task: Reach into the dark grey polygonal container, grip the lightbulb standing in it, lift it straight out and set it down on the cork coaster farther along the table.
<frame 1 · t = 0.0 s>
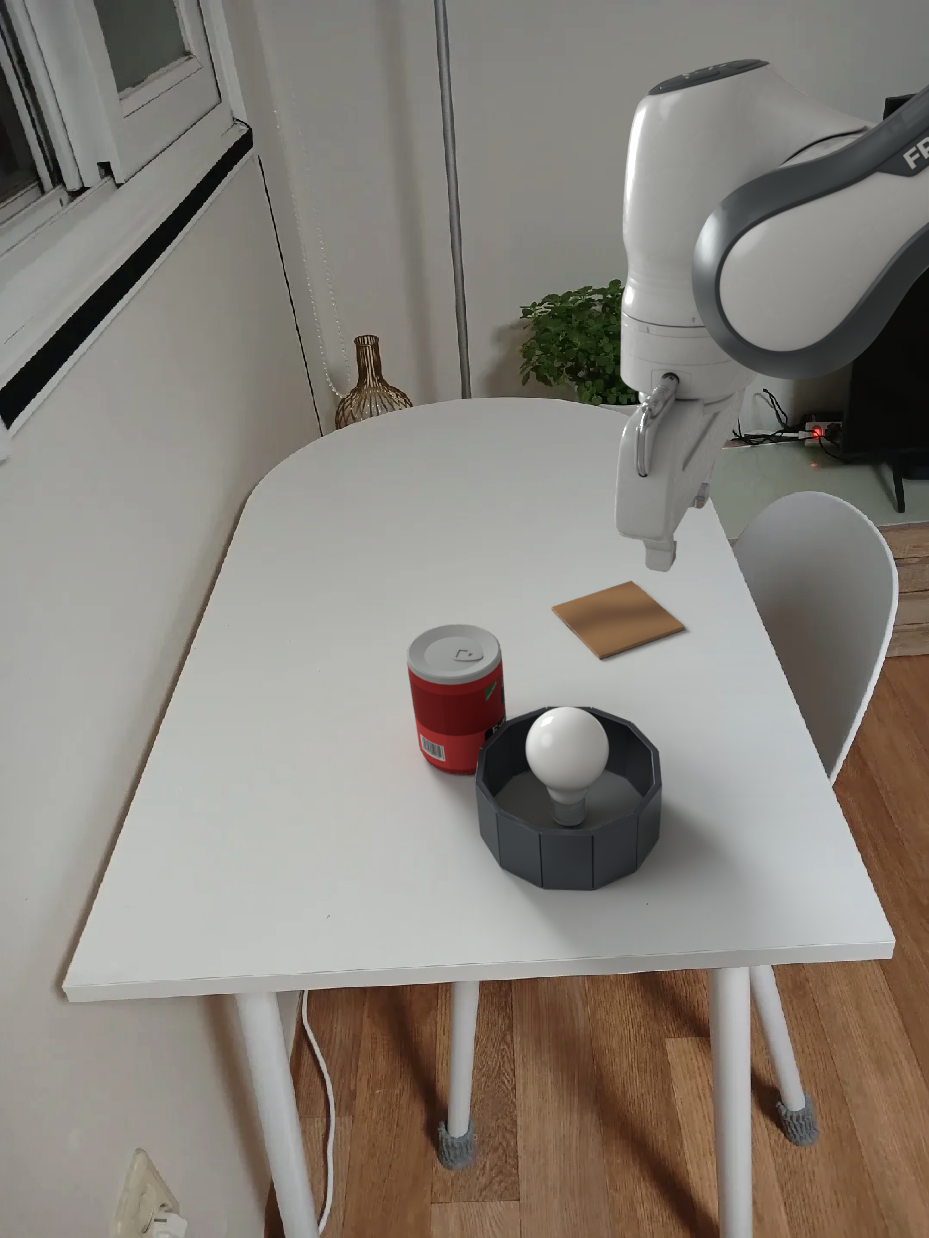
hand: (678, 533, 70), 22 cm above the table, tool pointing down, fingers open, 8 cm apart
lightbulb: (568, 820, 78), resting in dark grey polygonal container
canned food: (464, 748, 86), on the table
coaster: (616, 619, 100), on the table
dark grey polygonal container: (568, 819, 77), on the table
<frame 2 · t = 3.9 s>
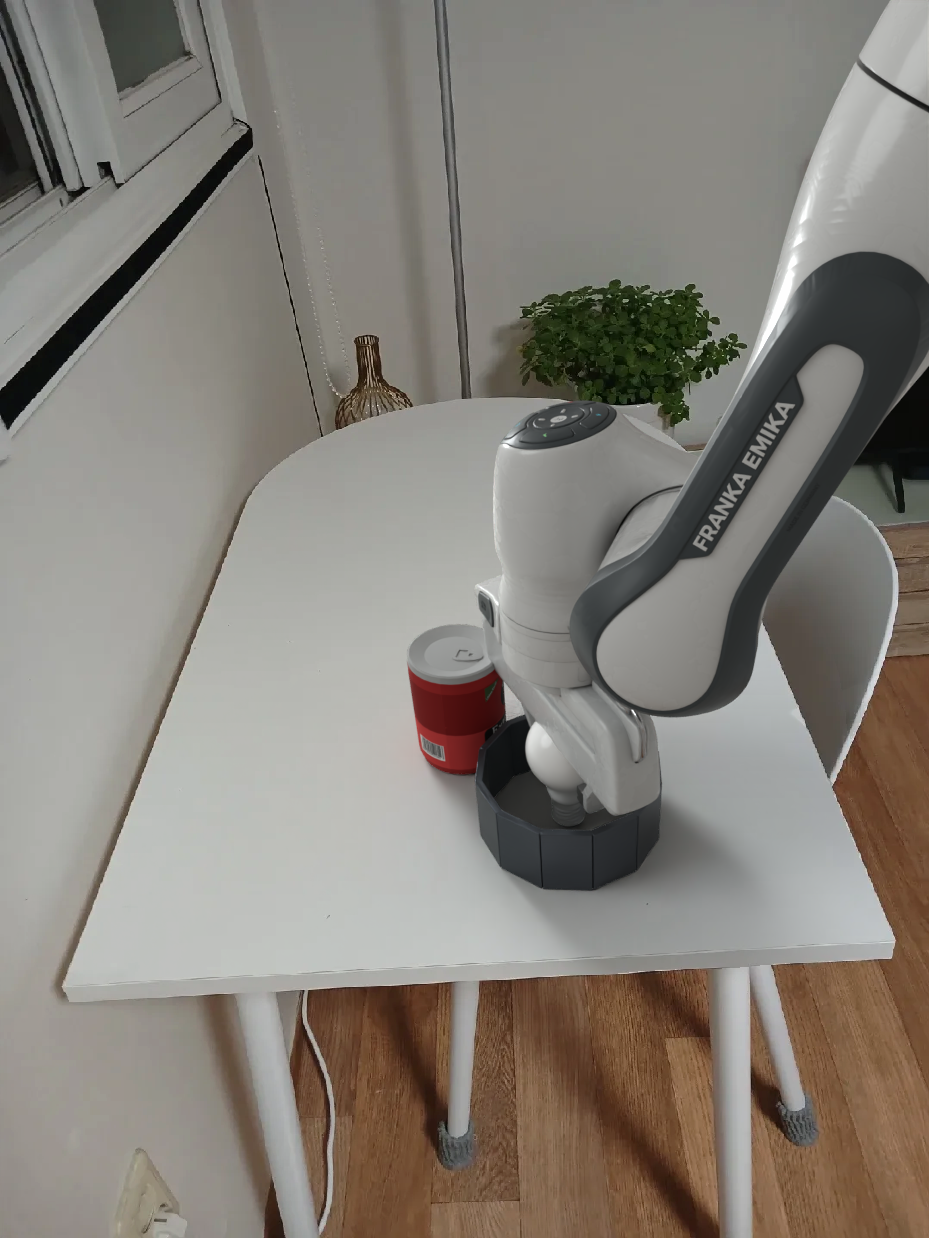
hand: (567, 773, 74), 5 cm above the table, tool pointing down, fingers closed on lightbulb, 6 cm apart
lightbulb: (568, 821, 78), resting in dark grey polygonal container, touching gripper
everything else where it was.
when the fingers open (6 cm above the table, at t = 13.1 s): lightbulb stays where it is, resting on coaster.
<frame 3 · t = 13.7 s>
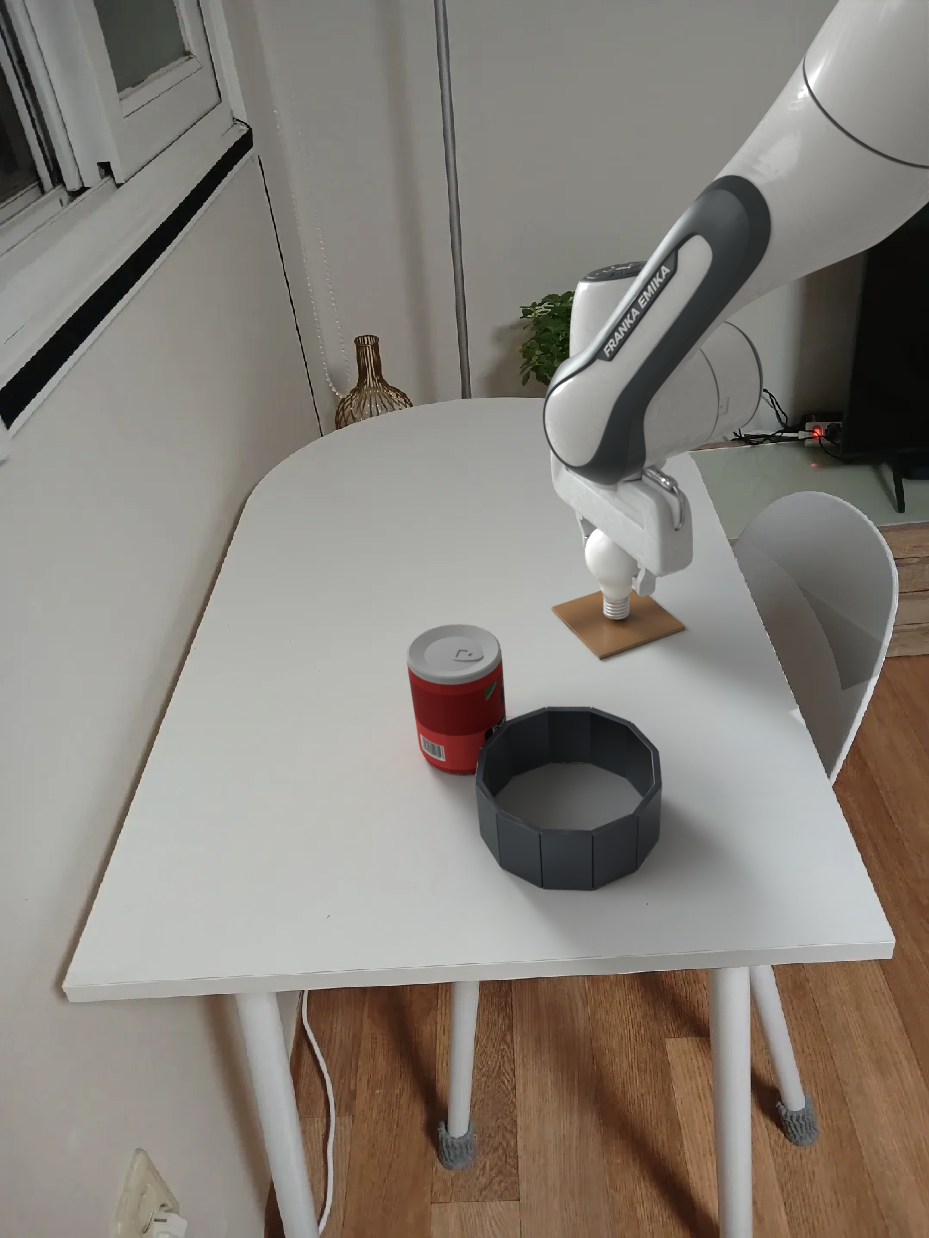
hand: (617, 569, 96), 6 cm above the table, tool pointing down, fingers open, 8 cm apart
lightbulb: (616, 618, 99), resting on coaster
everything else where it was.
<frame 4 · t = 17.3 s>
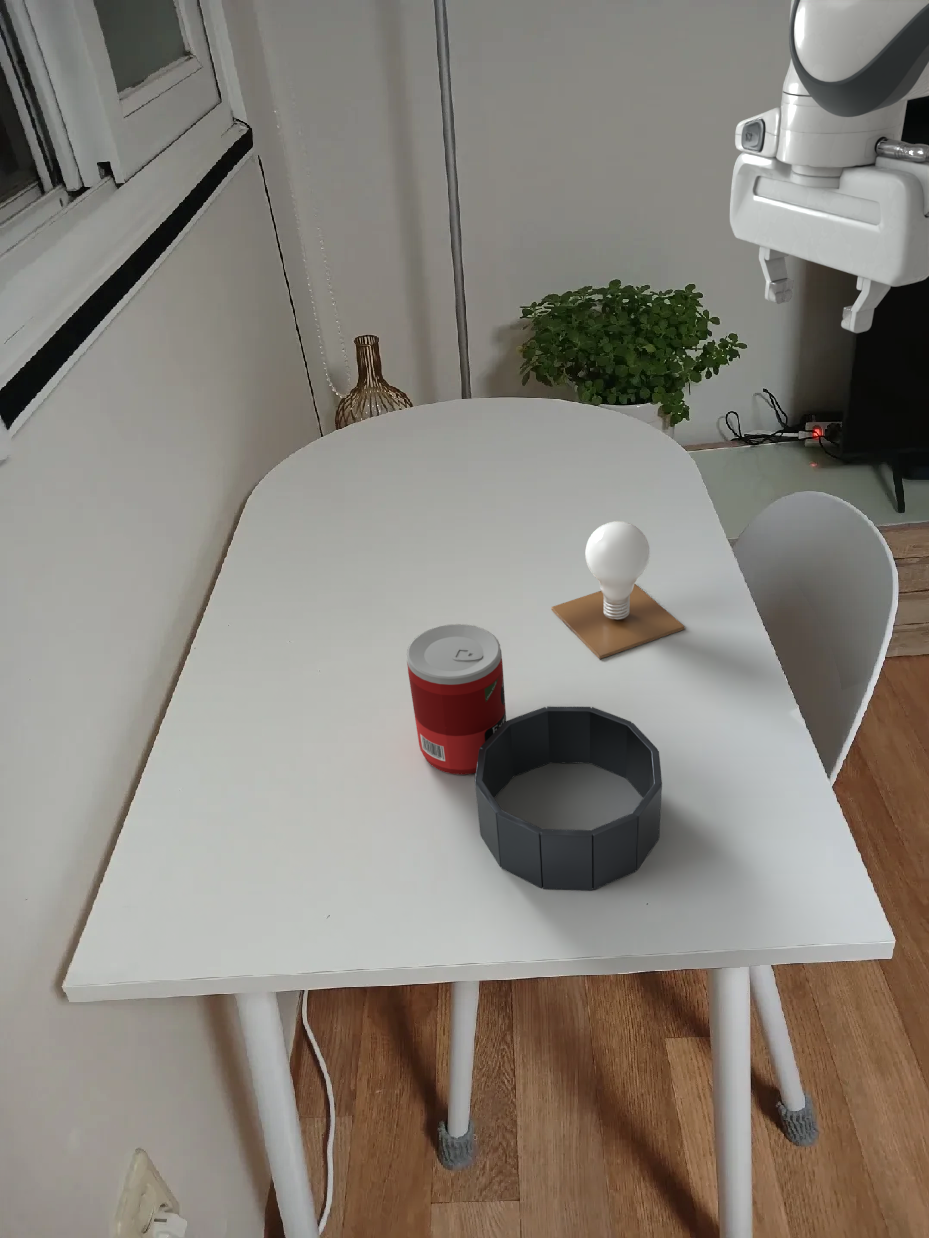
hand: (814, 314, 80), 31 cm above the table, tool pointing down, fingers open, 8 cm apart
nothing on the table moved.
at the end: lightbulb inside the target area on the coaster (0.1 cm from its centre), point 0.2 cm above the coaster's base; lightbulb touching coaster; the gripper is holding nothing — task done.
